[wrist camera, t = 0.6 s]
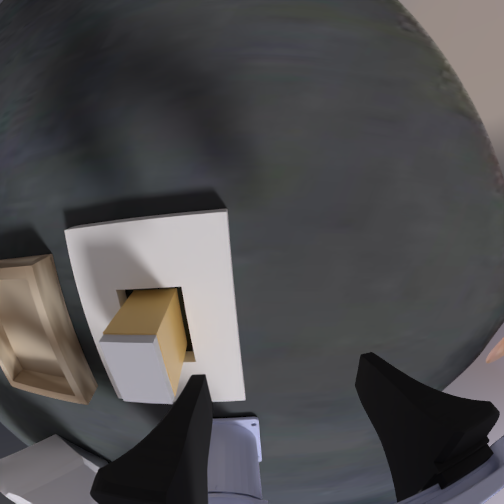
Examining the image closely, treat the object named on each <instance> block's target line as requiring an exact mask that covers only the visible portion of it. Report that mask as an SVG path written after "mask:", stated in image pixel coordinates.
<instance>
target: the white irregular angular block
mask: <svg viewBox="0 0 504 504" xmlns="http://www.w3.org/2000/svg"><path fill="white" fill-rule="evenodd" d="M107 464H109V463H108V462H107V461H106V460H105V459H102V458H100V457H98V456H96V455H94V454H92V453H90V452H88V451H86V450H84V449H82V448H80V447H78V446H76V445H75V444H73V443H71V442H69V441H67V440H66V439H64V438H62V437H60V436H59V435H57V434H54V435H52V436H50V437H48V438H46V439H44V440H42V441H40V442H38V443H36V444H34V445H32V446H29V447H27V448H25V449H23V450H21V451H18V452H16V453H14V454H11V455H9V456H7V457H5V458H2V459H0V492H1V493H2V494H4V495H5V496H6V497H7V498H9V499H10V500H12V501H13V502H15V503H16V504H98V503H97V502H96V501H95V500H94V499H93V498H92V497H91V495H90V491H91V487H92V484H93V481H94V478H95V476H96V474H97V472H98V469H99V468H102V467H103V466H105V465H107Z"/></svg>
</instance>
